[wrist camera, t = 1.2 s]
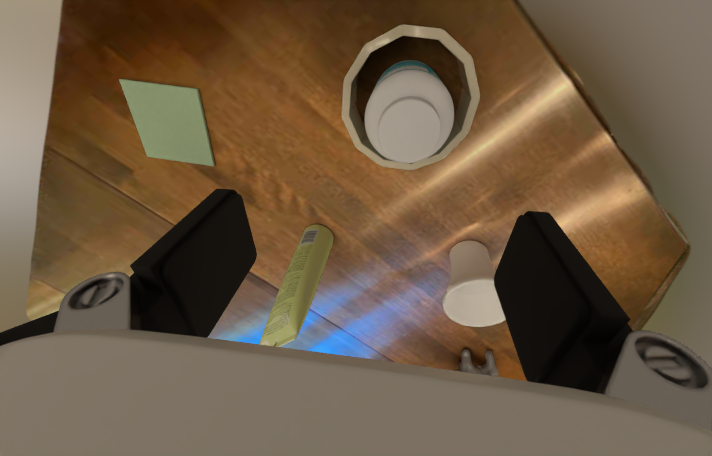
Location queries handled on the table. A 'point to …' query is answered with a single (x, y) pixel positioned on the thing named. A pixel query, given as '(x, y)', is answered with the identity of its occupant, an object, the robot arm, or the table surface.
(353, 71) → the polygonal ring band
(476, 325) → the cup
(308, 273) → the tube
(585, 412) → the robot arm
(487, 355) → the elephant statuette
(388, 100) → the pill bottle
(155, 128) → the mat
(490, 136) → the table surface
